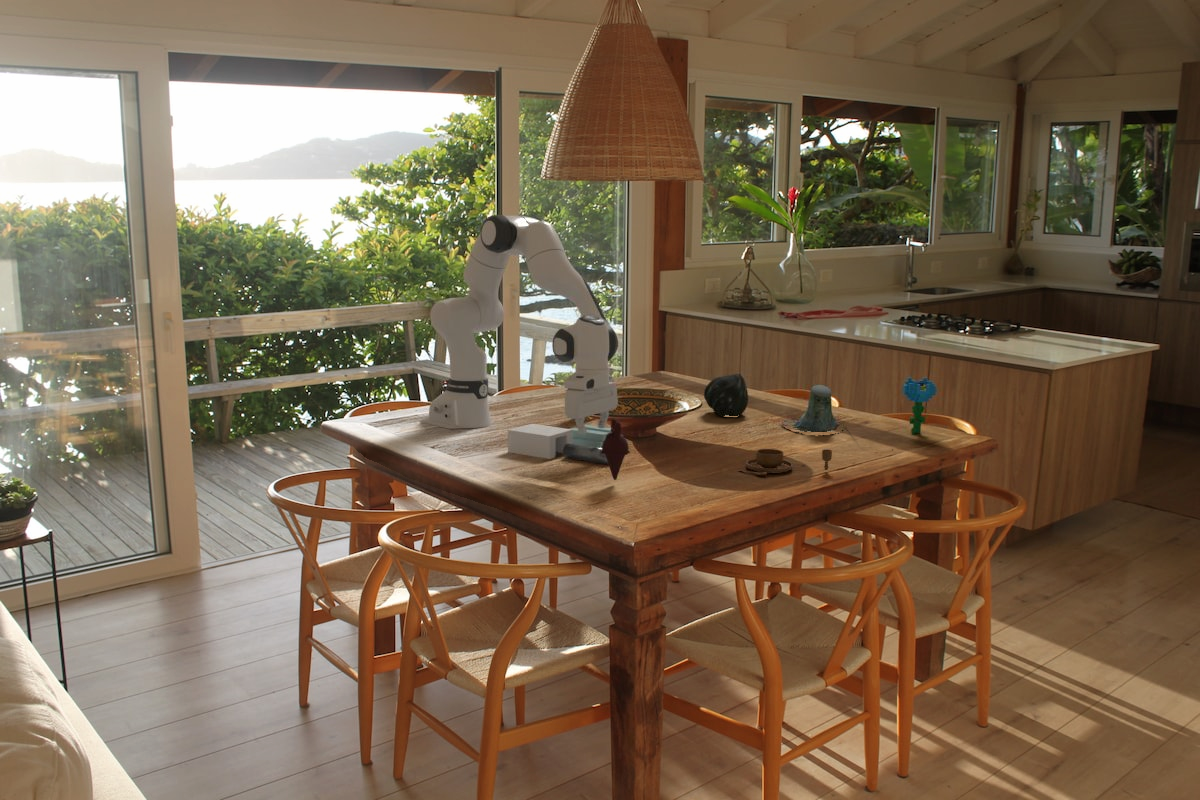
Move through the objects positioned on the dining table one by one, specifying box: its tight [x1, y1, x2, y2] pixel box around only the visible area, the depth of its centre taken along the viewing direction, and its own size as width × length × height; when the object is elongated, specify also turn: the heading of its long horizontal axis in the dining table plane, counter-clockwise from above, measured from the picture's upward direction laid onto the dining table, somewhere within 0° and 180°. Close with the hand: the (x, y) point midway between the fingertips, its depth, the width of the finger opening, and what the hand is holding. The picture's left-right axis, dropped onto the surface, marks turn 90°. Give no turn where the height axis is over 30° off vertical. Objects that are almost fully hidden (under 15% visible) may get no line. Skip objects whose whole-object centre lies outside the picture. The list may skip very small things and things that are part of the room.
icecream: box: [600, 418, 631, 481], centre depth 252 cm, size 7×7×15 cm
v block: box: [570, 423, 624, 448], centre depth 292 cm, size 12×12×4 cm
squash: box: [703, 373, 749, 417], centre depth 331 cm, size 14×15×15 cm
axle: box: [562, 443, 609, 466], centre depth 273 cm, size 14×4×4 cm, turn 57°
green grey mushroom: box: [781, 384, 840, 432], centre depth 312 cm, size 18×20×18 cm
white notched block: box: [507, 423, 573, 460], centre depth 282 cm, size 14×11×6 cm
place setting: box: [742, 448, 833, 476], centre depth 265 cm, size 18×20×6 cm
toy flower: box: [901, 376, 937, 435], centre depth 304 cm, size 9×9×18 cm
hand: (592, 430), depth 272 cm, fingers open, 8 cm apart
